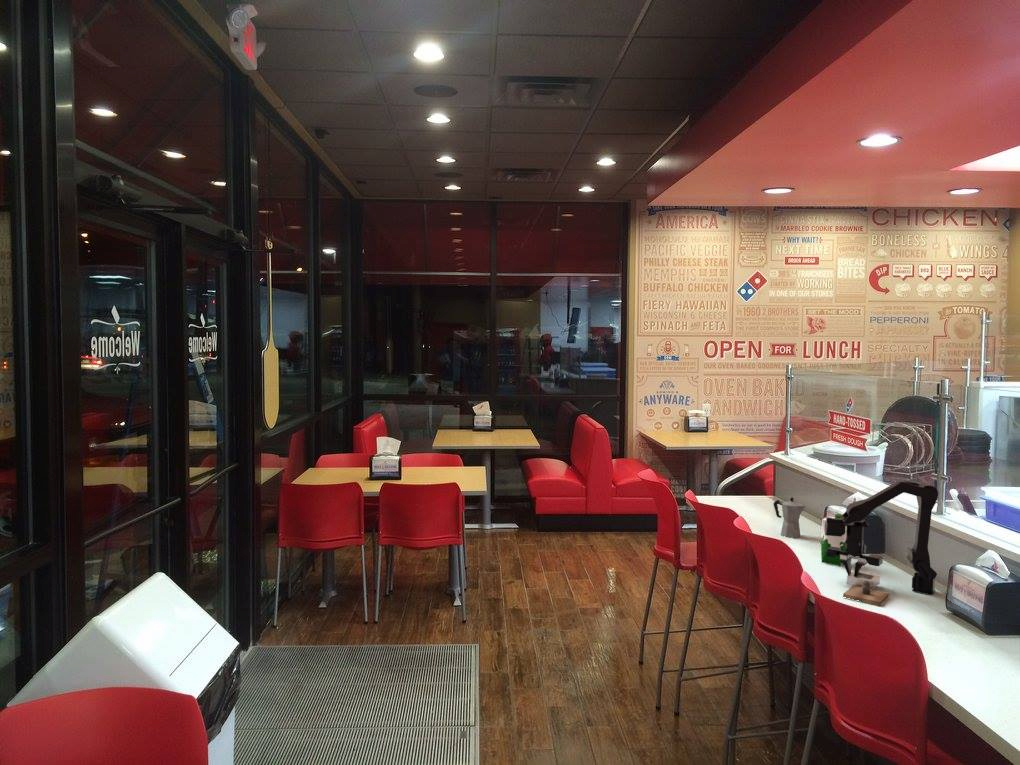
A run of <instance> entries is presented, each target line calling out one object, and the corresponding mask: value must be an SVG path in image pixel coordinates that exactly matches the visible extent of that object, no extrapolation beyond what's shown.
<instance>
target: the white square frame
mask: <svg viewBox="0 0 1020 765" xmlns="http://www.w3.org/2000/svg"><path fill="white" fill-rule="evenodd" d="M854 573H855V569H854V570H852V571H851V573H850V574H849V575H848V574H847V576H846V578H847V579H846V584H847V585H851V586H858V587H863V582H864V581H868V582H869V583H870V589H872V590H875V588H877V587H878V586H879V585H880V583H881V582H880V581H881V575H878V574H873V573H868V572H864V571H861V570H860V571H859V574H858V576H857V577H856V576H854Z"/></svg>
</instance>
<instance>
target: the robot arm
mask: <svg viewBox="0 0 1020 765" xmlns="http://www.w3.org/2000/svg"><path fill="white" fill-rule="evenodd" d="M902 494H908V495H912V496H916V500H917V505H918V506H917V507H918V509H917V517H916V526H915V527H916V528H915V537H914V544H913V546H912V547H907V555H906V559H907V560H908V563H909V565H910V566H911V567H912V568H913V570H914V571H915V572H914V573H913V574H914V575H912V577H911V578H912V579H911V580H912V581H911V588H912V590H911V591H912V592H914V593H915V592H916V593H920V594H924V595H929V596H933V595H934V594H935V592H936V589H935V586H936V577H937V575H938V573H937V572H936V571H935V569H933V568H932V566H931V559H930V558H931V557H930V553H929V540H930V531H931V530H930V529H931V522H932V521H931V520H932V512H933V509H934V507H935V505H936V503H937V500H938V497H939V490H938V489H937V488H936V487H935V486H933V485H932V484H931V483H929V482H924V481H923V482H920V483H918V482H914V481H913V482H912V481H906V480H902V479H899V480H896V481H895V482H894V483H893V484H891V485H889V486H887V487H886V488H883V489H881V490H880V491H878V492H876V493H875V494H873V495H871V496H869V497H868V498H864V499H861V500H860V499H859V500H857V501H854V502H851V503H849V504H848V505H847V506H846V509H845V510H846V511H845V512H844V513H843V514H842V516H841V517H840V519H838V518H830V517H831V516H826V517H825V518H826V522H825V527H824V530H825V535H827V536H839V537H842V535H844V534H845V526H847V530H846V541H845V543H846V551H845V552H844V551H841V549H840V548H837V547H832V546H831V547H830V548H828V549H827V550H826V556H827V557H832V558H834V557H835V556H836V555H838V556H840V559H839V561H841V562H842V563H843V564H842V565H843V566H844V569H845V570H846V574H847V576H848V575H849V574H850V573H851V572H852V559H855V560H856V562H855V563H854V570H855V573H854V576H856V577H857V576H858V574H859V571H860V572H861V569H862V567H864V566H865V565H867V564H868V565H869V566H874V567H880V566H881V565H882V564H883V560H884V558H883V557H882V555H879V554H874V553H870V554H869V555H864V554H867V547H868V546H867V545H866V544H865V543H864V542H865V541H864V528H870V525H869V523H867V521H866V520H865V519H866V518H868V516H870V514H871V513H872V512H873V511H874V510H875V509H877V508H879V507H880V506H883V505H884V504H886V503H887V502H889V501H891V500H893V499H895V498H896V497H898V496H900V495H902Z"/></svg>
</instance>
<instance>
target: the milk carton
mask: <svg viewBox="0 0 1020 765" xmlns="http://www.w3.org/2000/svg"><path fill="white" fill-rule="evenodd" d="M842 515H843V514H842V513H841V514H840V513H835V514H834V517H833V516H829V517H830V518H838V519H840V517H841V516H842ZM821 522H822V524H821V525H822V526H821V544H820V545H821V546H820V547H821V548H820V552H821V553H820V555H821V563H824V564H827V565H828V564H829V565H832V566H833V565H834V566H838V565H839V566H842V565H843V564H842V562H841V561H839V559H840V556H838V555H836V556H835V557H834V558H832V557H827V556H826V550H827V549H828V548H830V547H831V546H832V547H837V548H840V549H841V551H844V552H845V551H846V543H845V541H846V530H847V526H845V534H844V535H842V537H839V536H827V535H825V530H824V527H825V522H826V517H824V518H822V520H821Z"/></svg>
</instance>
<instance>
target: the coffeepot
mask: <svg viewBox="0 0 1020 765" xmlns="http://www.w3.org/2000/svg"><path fill="white" fill-rule="evenodd" d="M789 498H790V499H789V501H785V500H780V499H777V500H775V501H774V502H773V507H774V511H775V515H776V517H777V518H779V519H781V518H783V521H782V525H781V530H780V531H781V532H780V536H782V537H784V536H785V537H784V538H790V539H799V538H801V528H800V518H801V513H802V512H803V511H804V509H806V508H807V506H806V505H803V504H802V503H799V502H796V501H794V499H795V498H794V497H789ZM778 505H779V506H781V509H782V515H780V511H779V506H778Z"/></svg>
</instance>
